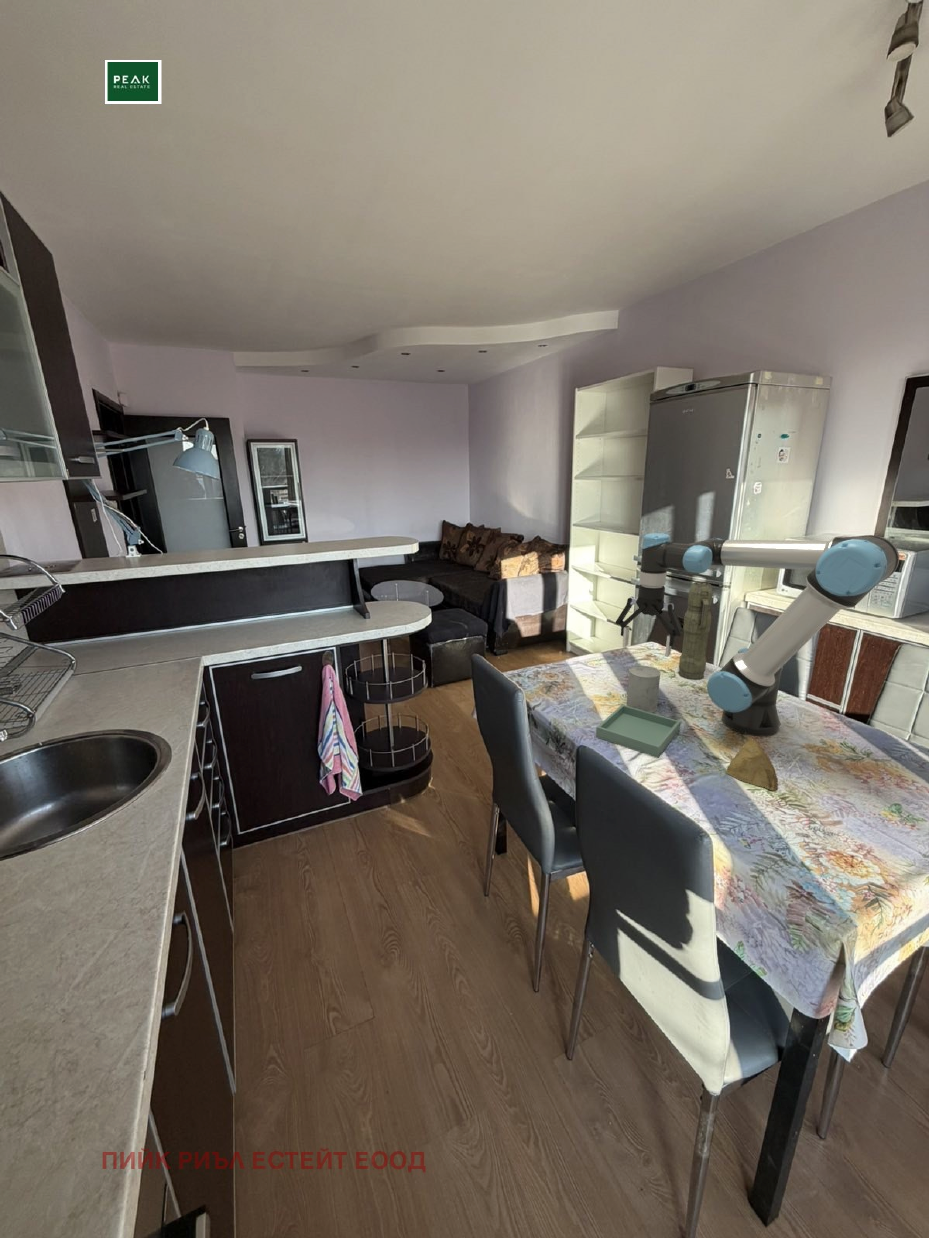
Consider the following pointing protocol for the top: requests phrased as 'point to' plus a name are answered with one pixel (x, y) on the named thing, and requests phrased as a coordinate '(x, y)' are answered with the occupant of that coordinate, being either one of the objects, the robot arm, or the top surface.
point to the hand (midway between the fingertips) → (645, 650)
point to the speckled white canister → (643, 688)
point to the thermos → (696, 631)
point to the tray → (638, 730)
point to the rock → (753, 766)
